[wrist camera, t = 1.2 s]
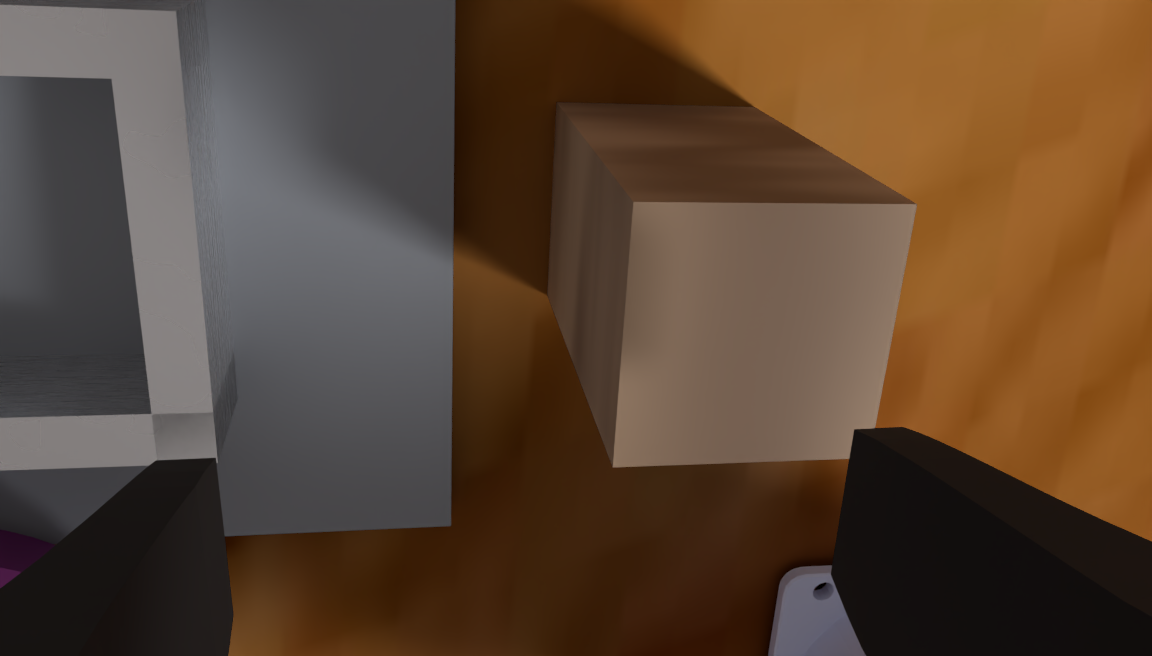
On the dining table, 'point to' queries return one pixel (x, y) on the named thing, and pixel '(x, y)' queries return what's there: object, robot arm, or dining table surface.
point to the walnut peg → (720, 283)
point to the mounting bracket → (18, 554)
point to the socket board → (228, 257)
